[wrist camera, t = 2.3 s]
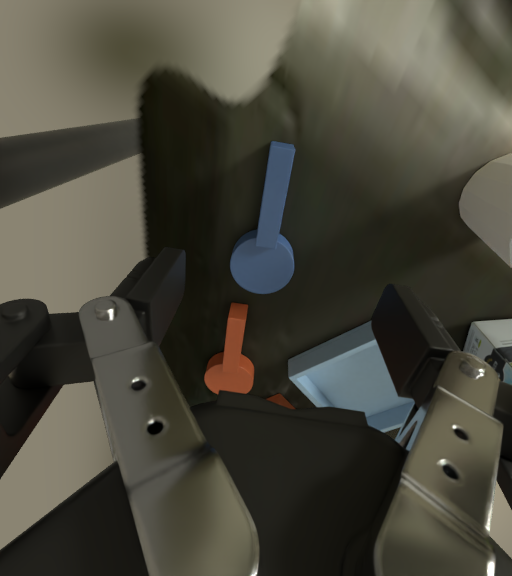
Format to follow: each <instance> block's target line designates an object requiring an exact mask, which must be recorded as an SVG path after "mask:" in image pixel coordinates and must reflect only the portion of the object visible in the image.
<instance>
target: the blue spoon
mask: <svg viewBox="0 0 512 576" xmlns="http://www.w3.org/2000/svg"><path fill="white" fill-rule="evenodd" d="M294 154H295V148H294V145H293V144H287V143H281V142H275V141H271V144H270V150H269V157H268V163H267V170H266V177H265V183H264V190H263V196H262V203H261V210H260V216H259V223H258V229H257V230H253V231H250V232H248V233H246V234H244V235H243V236H242V237H241V238H240V239H239V240H238V241H237V242H236V244H235V246H234V249H233V252H232V256H231V259H230V270H231V273H232V276H233V278H234V279H235V281H236V282H237V283H238V284H239V285H240V286H241V287H242V288H244V289H246V290H248V291H250V292H253V293H257V294H268V293H273V292H276V291H278V290H280V289H281V288H283V287H284V286H285V285H286V284H287V283H288V282H289V281H290V279H291V277H292V275H293V272H294V257H293V251H292V248H291V245H290V244H289V242H288V241H287V240H286V238H284V237H283V236H282V235H281V234H279V231H280V226H281V221H282V215H283V210H284V205H285V200H286V195H287V190H288V184H289V179H290V174H291V169H292V164H293V159H294Z"/></svg>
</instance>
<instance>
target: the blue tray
mask: <svg viewBox="0 0 512 576" xmlns="http://www.w3.org/2000/svg"><path fill="white" fill-rule="evenodd" d="M288 375H289V379H290V380H291V381H292V382H293V383H294V384H295V385H296V386H297V387H298V388H299V389H300V390H301V391H302V392H303V393H304V394H305V395H306V396H307V397H308V398H309V399H310V401H311V402H312V403H313V404H314V405H315V406H316V407H328V406H329V407H336V408H343V409H349V410H356V411H362V412H365V416H366V419H367V423H368V425H369V426H372V427H374V428H376V429H378V430H380V431H382V432H387V431H390V430H393V429H396V428H399V427H402V425H403V423H404V421H405V419H406V417H407V415H408V413H409V411H410V409H411V407H412V406H413V404H414V403H415V402H414V400H413V399H410V398H403V397H398V395H397V392H396V390H395V387H394V385H393V382H392V380H391V377H390V375H389V372H388V369H387V367H386V364H385V362H384V359H383V357H382V354H381V352H380V349H379V347H378V344H377V342H376V339H375V337H374V334H373V331H372V328H371V321H369V322H367V323H365V324H363V325H361V326H359V327H356V328H354V329H352V330H350V331H348V332H346V333H344V334H342V335H339V336H337V337H335V338H333V339H331V340H329V341H327V342H324V343H322V344H320V345H318V346H316V347H314V348H312V349H310V350H307V351H305V352H303V353H301V354H299V355H297V356H295V357H293V358H290V359H288Z"/></svg>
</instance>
